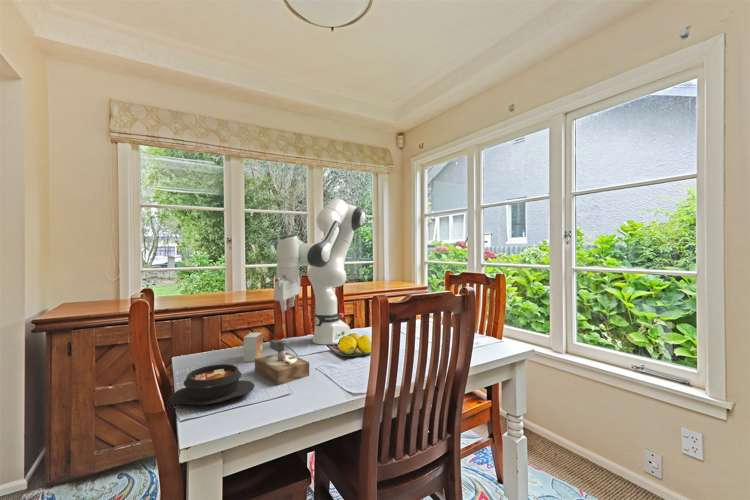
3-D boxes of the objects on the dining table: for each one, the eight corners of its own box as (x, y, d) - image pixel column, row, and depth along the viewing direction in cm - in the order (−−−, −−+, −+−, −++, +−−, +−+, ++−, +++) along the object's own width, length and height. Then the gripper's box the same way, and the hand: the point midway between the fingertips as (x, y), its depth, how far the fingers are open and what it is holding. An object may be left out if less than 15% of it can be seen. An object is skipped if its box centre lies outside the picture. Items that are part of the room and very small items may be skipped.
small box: (256, 362, 145) (256, 337, 145) (243, 361, 145) (243, 337, 145) (263, 355, 153) (263, 332, 153) (250, 355, 153) (250, 332, 153)
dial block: (284, 363, 143) (284, 350, 143) (309, 375, 130) (309, 361, 130) (254, 371, 134) (254, 358, 134) (278, 385, 121) (277, 370, 121)
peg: (294, 362, 129) (294, 344, 129) (285, 365, 126) (285, 346, 126) (276, 354, 138) (276, 337, 138) (268, 356, 136) (268, 338, 136)
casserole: (161, 416, 99) (160, 387, 99) (178, 391, 117) (177, 366, 117) (252, 404, 106) (252, 377, 106) (255, 381, 124) (255, 358, 124)
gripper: (286, 277, 129) (286, 314, 129) (302, 272, 149) (302, 304, 150) (270, 276, 130) (270, 313, 130) (288, 272, 150) (288, 304, 150)
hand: (287, 308), depth 140 cm, fingers open, 7 cm apart
